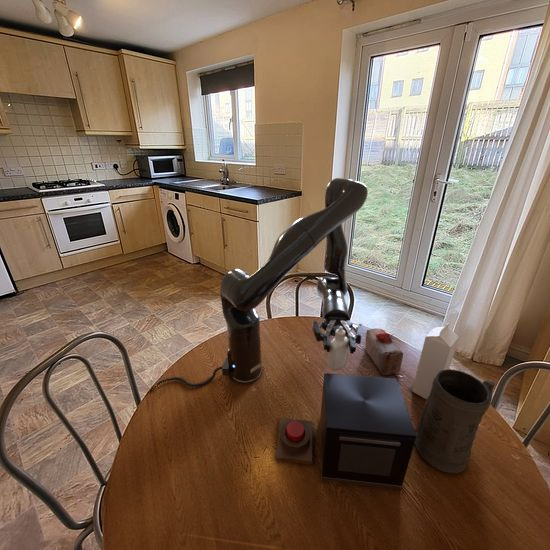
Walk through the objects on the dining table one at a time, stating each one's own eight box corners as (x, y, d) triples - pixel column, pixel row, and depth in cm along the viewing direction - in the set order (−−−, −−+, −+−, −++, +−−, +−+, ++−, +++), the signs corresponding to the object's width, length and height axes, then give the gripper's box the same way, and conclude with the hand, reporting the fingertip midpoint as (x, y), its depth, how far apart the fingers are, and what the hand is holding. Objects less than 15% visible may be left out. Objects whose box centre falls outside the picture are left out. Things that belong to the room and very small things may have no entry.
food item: (360, 347, 99) (363, 323, 95) (382, 345, 100) (386, 321, 96) (379, 376, 87) (384, 350, 83) (404, 373, 88) (410, 347, 84)
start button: (285, 441, 66) (285, 435, 65) (287, 425, 70) (287, 420, 69) (303, 442, 66) (303, 437, 65) (304, 427, 69) (304, 422, 68)
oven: (321, 481, 61) (326, 428, 54) (320, 421, 73) (323, 373, 67) (401, 490, 59) (417, 437, 52) (385, 427, 72) (396, 378, 65)
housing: (275, 460, 65) (275, 451, 63) (280, 421, 74) (280, 412, 72) (311, 464, 64) (312, 455, 62) (312, 424, 73) (312, 415, 71)
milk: (442, 392, 82) (463, 326, 72) (433, 404, 78) (454, 336, 69) (420, 380, 86) (437, 316, 76) (411, 391, 82) (428, 325, 73)
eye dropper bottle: (350, 369, 75) (355, 331, 70) (329, 371, 74) (332, 333, 69) (344, 357, 79) (348, 320, 74) (324, 360, 78) (327, 323, 73)
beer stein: (444, 485, 60) (476, 413, 52) (402, 441, 68) (423, 374, 60) (486, 454, 66) (520, 387, 59) (443, 418, 75) (467, 355, 67)
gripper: (311, 300, 86) (311, 335, 71) (361, 303, 84) (372, 339, 69) (310, 321, 89) (310, 360, 74) (358, 324, 88) (368, 364, 72)
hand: (340, 349), depth 71 cm, fingers closed on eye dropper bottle, 5 cm apart
